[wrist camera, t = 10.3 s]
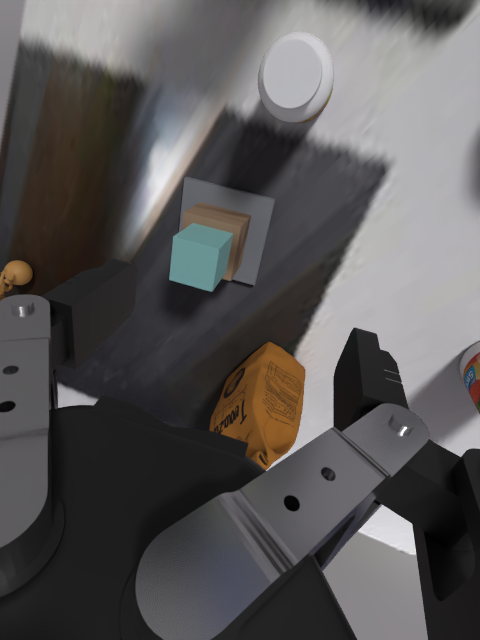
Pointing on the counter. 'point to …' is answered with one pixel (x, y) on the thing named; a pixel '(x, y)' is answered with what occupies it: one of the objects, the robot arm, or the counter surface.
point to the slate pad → (238, 202)
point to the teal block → (200, 256)
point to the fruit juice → (472, 372)
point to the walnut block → (224, 222)
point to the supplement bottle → (296, 77)
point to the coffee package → (262, 404)
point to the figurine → (15, 275)
